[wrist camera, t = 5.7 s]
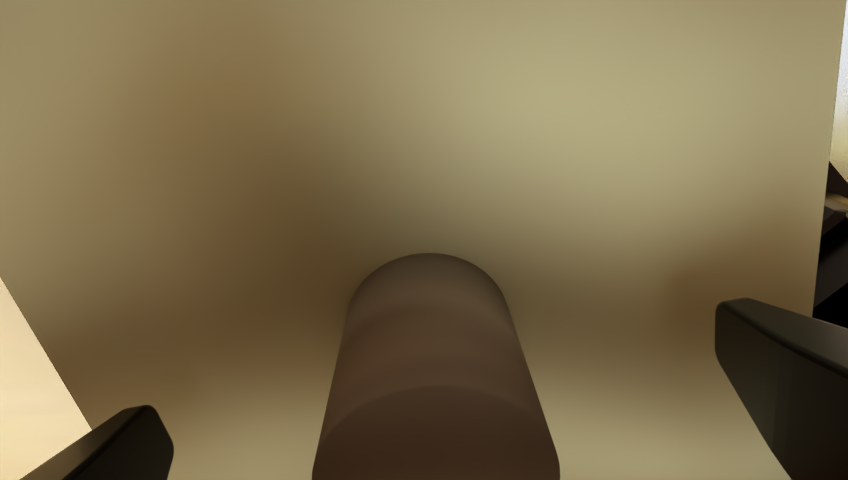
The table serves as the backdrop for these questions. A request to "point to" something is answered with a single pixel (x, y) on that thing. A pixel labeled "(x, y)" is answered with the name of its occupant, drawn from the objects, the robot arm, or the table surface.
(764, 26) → the lid
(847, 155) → the table surface
